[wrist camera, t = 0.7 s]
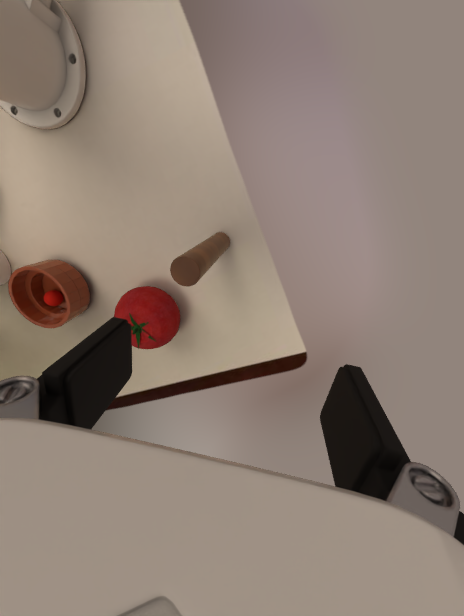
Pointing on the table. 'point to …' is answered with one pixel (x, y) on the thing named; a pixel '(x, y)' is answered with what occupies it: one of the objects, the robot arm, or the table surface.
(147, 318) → the tomato
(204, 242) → the stirring stick
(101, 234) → the table surface
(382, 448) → the robot arm
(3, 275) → the cylindrical container
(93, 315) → the table surface
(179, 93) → the table surface
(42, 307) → the bowl
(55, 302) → the cherry tomato
